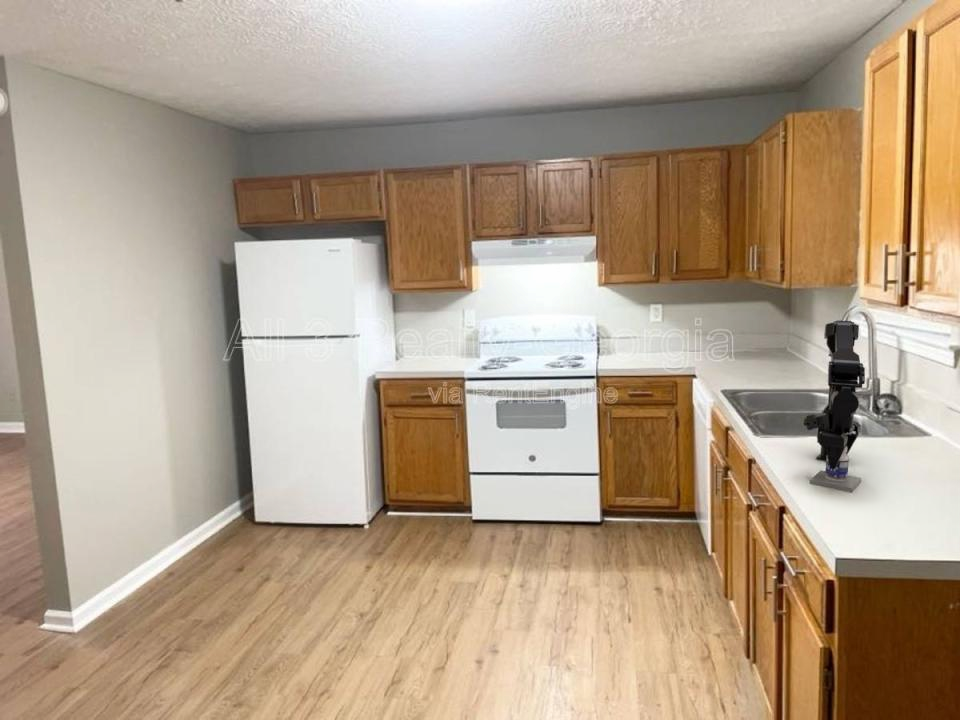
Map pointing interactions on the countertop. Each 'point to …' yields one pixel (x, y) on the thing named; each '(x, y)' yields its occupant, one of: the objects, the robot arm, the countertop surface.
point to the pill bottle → (838, 469)
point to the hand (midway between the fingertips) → (837, 464)
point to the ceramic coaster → (835, 482)
